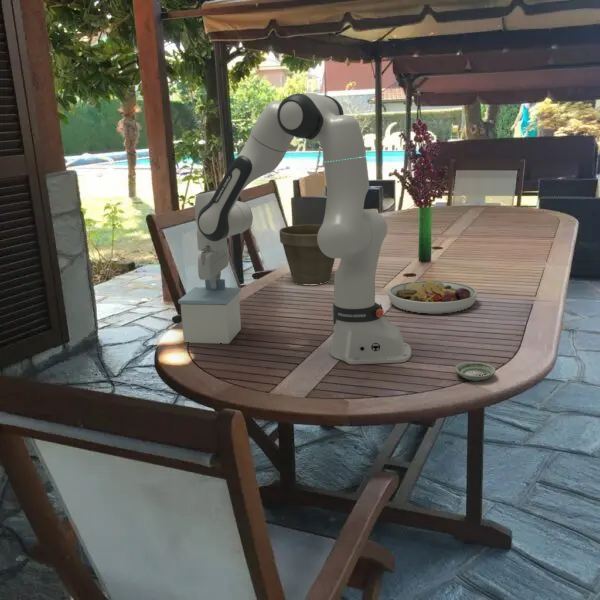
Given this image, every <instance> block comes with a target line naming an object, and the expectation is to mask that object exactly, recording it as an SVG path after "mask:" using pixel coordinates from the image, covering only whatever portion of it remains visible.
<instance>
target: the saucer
mask: <svg viewBox="0 0 600 600" xmlns="http://www.w3.org/2000/svg"><path fill="white" fill-rule="evenodd" d="M454 370H455V372H456V373H457V375H459V376H460V377H462V378H464V379H466V380H468V379H470V380H469V381H471V380H482V381H484V380H487V379H489V378H491V377H492V376H493V375H495V373H496V368H495V367H494V366H493V365H490V364H488V363H484V362H478V361H466V362H461V363H458V364H457V365H456V366H455V367H454ZM469 371H470V373H469ZM472 371H473V373H472ZM475 371H476V372H477V371H480V372H482V373H485V374H486V375H483V376H482V374H481V376H479V374H478V372H477V373H476V372H475ZM477 374H478V375H477ZM483 379H484V380H483Z"/></svg>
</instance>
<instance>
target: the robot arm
mask: <svg viewBox="0 0 600 600" xmlns="http://www.w3.org/2000/svg"><path fill="white" fill-rule="evenodd" d="M360 126H361V125H360V123H359V122H358V120H357V119H356V118H355V117H353V116H350V115H346V114H344V110H343V107H342V105H341V103H340V102H339V101H338V100H337V99H335V98H334V97H332V96H329V95H325V94H324V95H322V94H318V93H313V92H312V93H294V94H293V93H292V94H291V95H289V96H287V97H285V98H284V99H283V100H282V101H280V100H272V101H271V102H268V104H267V105H265V106H264V108H263V110H262V112H261V113H260V114H259V116H258V118H257V120H256V121H255V124H254V125H253V127H252V129H251V131H250V133H249V136H248V137H247V140H246V141H245V142H244V143H245V144H244V146H243V147H242V149H241V150H240V152H239V153H238V155H237V156H236V158H235V159H234V161H232V163H231V165H230V166H229V168H228V169H227V170H226V172H225V174H224V176H223V178H222V180H221V182H220V183H219V185H218V187H217V189H209V190H205V191H200V192H198V194H196V197H195V200H194V214H195V215H194V218H195V223H196V226H197V230H196V238H197V239H196V240H197V249H198V251H200V252H201V253H199V255H198V257H197V273H198V278H199V280H201V281H203V280H204V281H205V280H209V281H210V285H211V289H216V288H217V287H218V286H217V282H216V279H221V275H222V274H221V271H223V270H225V269H226V268H227V267H228V266H229V262H230V255H229V254H230V248H229V245H230V237H232V236H235V235H238V234H242V233H245V232H246V231H247V230H249V229H250V228H251V227H252V224H253V218H254V217H253V213H252V209H251V208H250V206H249V205H248V204H247V203H245V202H244V201H239V197H240V196H241V195H242V192H243V191H244V189H245V188H247V186H249V185H250V184H251V183H252V182H253V181H255V180H257V179H259V178H260V177H263V176H265V175H267V174H270V173H271V172H274V170H275V169H277V167H278V166H279V165H280V164H281V162H282V161H283V159H285V156H286V154H287V152H288V150H289V147H290V146H291V144H292V141H293V139H294V138H299V139H306V140H310V141H311V140H313V139H316V140H317V141H318V142H319V144H320V146H321V151H322V157H323V167H324V176H325V184H326V201H325V208H324V209H325V211H324V217H323V221H322V223H321V225H322V226H321V227H320V229H319V231H318V235H317V242H318V246H319V248H320V250H321V251H322V252H323V253H324V254H325V255H326V256H328V257H330V258H335V259H340V262H339V265H338V267H337V270H336V271H335V273H334V277H333V295H334V297H333V298H334V301H333V302H334V303H333V305H332V323H333V335H332V340H331V341H332V342H331V346H330V350H329V355H331V357H332V358H334V359H337V360H341V361H344V363H347V364H349V365H372V364H373V365H374V364H389V363H390V364H395V363H405V362H407V361H409V360H410V358H411V357H412V348H411V346H410V345H409V344H408V343H406V342H404V338H403V335H402V331H401V329H399V327H398V326H397V325H395V324H394V323H392V322H391V321H389V320H388V319H387V318H385V317H384V309H383V305H382V303H377V302H376V274H377V273H376V272H377V267H378V263H379V262H378V261H379V258H380V253H381V249H382V245H383V242H384V240H385V238H386V237H387V233H388V224H387V220H386V218H385V217H384V216H383V215H382V214H381V213H380V212H378V211H375V210H370V209H369V210H368V209H364V207H365V200H366V196H367V193H368V192H369V189H370V180H369V179H370V178H369V170H368V162H367V153H366V147H365V142H364V138H363V137H364V136H363V133H362V130H361V127H360Z"/></svg>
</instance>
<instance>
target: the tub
mask: <svg viewBox="0 0 600 600" xmlns="http://www.w3.org/2000/svg"><path fill="white" fill-rule="evenodd" d="M240 308H241V307H240V292H239V293H238V294H237V295H236V296H235V297H234V298H233V299H232V300H231V301H230V302H229V303H228V304H180V313H181V324H182V333H183V334H182V336H183V338H182V339H183V343H184V342H189V344H190V343H191V344H220V343H222V344H225V345H226V344H227V345H229V344H230V343H231V342H232V341H233V339H234V338H235V337H236V336H237V335H238V333H239V332H240V331H241V330H242V320H241V309H240Z"/></svg>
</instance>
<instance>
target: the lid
mask: <svg viewBox="0 0 600 600" xmlns="http://www.w3.org/2000/svg"><path fill="white" fill-rule="evenodd" d="M216 282H217V286H218V287H217V288H216V289H211V285H210V281H209V280H204V284H205V285H204V287H201V286H198V287H194V288H192V289H191V290H190V291H188V292H187V293H185V294H184V295H183V296H182V297H180V298H179V299H178V300H177V301H178V302H177V303H178V304H180V305H181V304H228V303H229V302H230V301H231V300H232V299H233V298H234V297H235V296H236V295H237V294H238V293H239V294H240V292H241V291H242V290H241V289H242V288H241V287H227V286H226V279H224V278H223V279H222V278H220V279H216Z"/></svg>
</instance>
